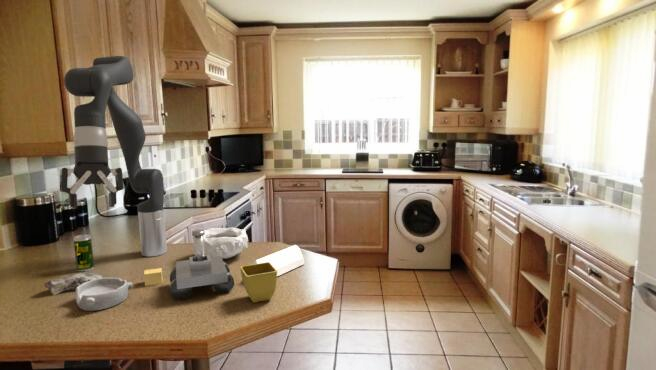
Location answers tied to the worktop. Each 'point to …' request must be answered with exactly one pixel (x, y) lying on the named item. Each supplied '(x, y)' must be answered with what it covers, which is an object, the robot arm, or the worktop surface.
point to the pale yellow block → (153, 277)
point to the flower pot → (259, 281)
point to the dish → (102, 293)
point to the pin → (199, 244)
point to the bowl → (224, 242)
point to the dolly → (200, 276)
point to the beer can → (83, 252)
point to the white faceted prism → (284, 259)
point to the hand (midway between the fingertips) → (93, 208)
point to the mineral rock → (70, 282)
